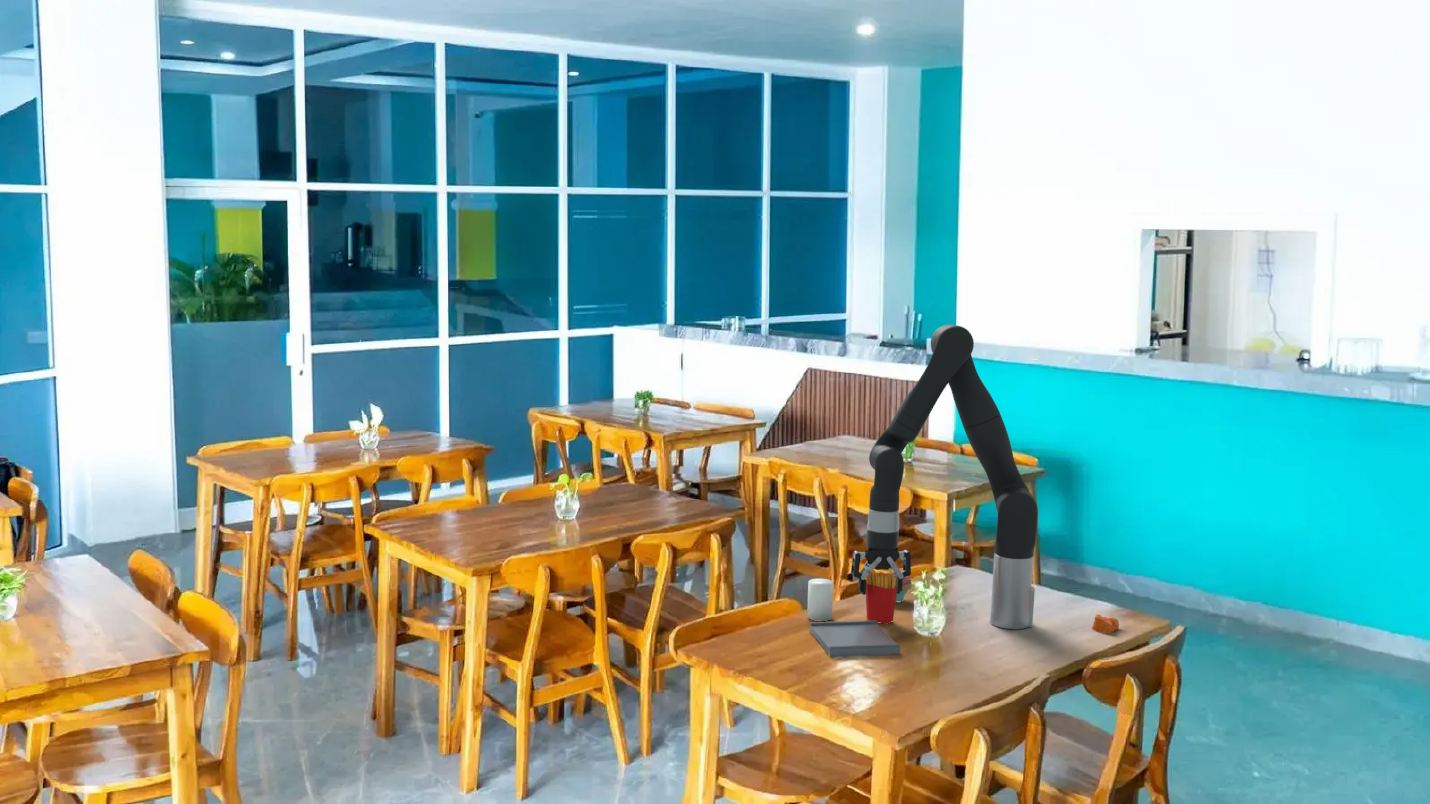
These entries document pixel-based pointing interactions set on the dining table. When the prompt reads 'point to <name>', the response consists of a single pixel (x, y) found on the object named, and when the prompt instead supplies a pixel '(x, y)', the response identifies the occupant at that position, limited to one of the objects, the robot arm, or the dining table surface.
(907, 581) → the cupcake
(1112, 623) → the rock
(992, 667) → the dining table surface
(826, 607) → the white rounded cylinder
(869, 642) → the slate board
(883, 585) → the french fries
